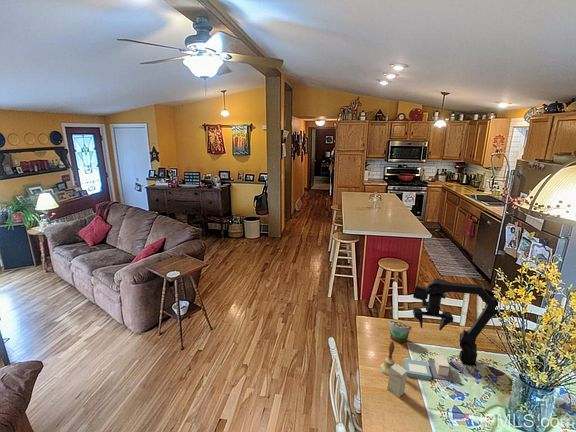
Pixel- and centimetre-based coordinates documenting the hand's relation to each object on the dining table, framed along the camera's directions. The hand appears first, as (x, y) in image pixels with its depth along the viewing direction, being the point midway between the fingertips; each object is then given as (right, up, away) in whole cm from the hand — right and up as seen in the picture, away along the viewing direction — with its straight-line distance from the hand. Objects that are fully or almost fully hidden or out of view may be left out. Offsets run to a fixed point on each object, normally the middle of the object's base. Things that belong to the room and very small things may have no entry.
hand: (430, 328), depth 163 cm
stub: (-1, -15, -13) cm, 20 cm away
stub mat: (-1, -16, -12) cm, 20 cm away
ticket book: (-12, -16, -12) cm, 24 cm away
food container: (-14, -10, +9) cm, 20 cm away
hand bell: (-26, -16, -12) cm, 33 cm away
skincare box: (-27, -19, -25) cm, 41 cm away
